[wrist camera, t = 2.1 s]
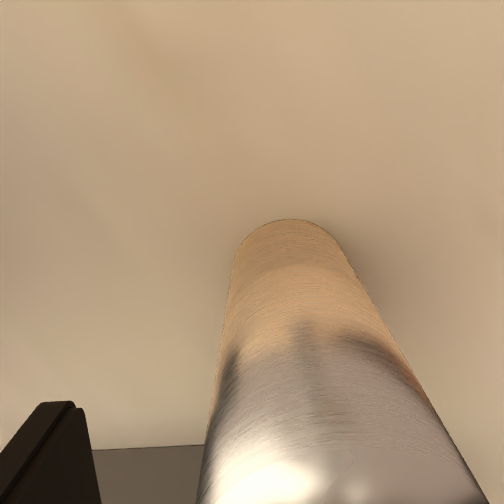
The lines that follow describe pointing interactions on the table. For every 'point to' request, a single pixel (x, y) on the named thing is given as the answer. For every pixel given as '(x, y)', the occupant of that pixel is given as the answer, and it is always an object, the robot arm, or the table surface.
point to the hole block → (149, 475)
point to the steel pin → (318, 390)
